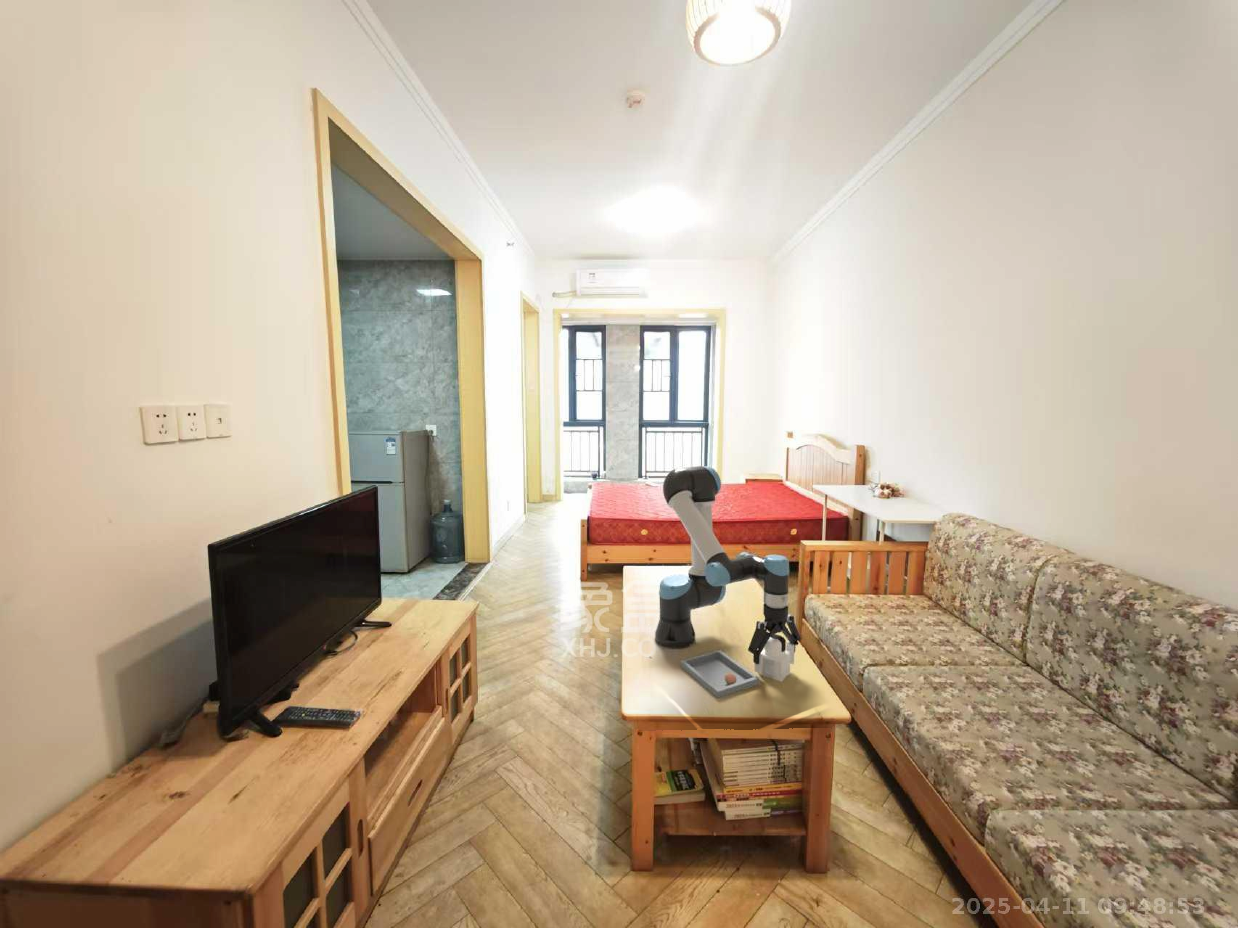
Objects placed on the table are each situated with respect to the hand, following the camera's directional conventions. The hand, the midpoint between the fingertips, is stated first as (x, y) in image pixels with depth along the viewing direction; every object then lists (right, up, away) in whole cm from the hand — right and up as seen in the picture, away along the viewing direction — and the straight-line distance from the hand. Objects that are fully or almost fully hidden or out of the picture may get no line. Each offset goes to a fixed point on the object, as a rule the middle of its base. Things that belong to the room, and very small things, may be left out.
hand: (774, 667), depth 154 cm
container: (0, -3, 0) cm, 3 cm away
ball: (-16, -3, -6) cm, 17 cm away
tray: (-18, -3, -1) cm, 19 cm away
